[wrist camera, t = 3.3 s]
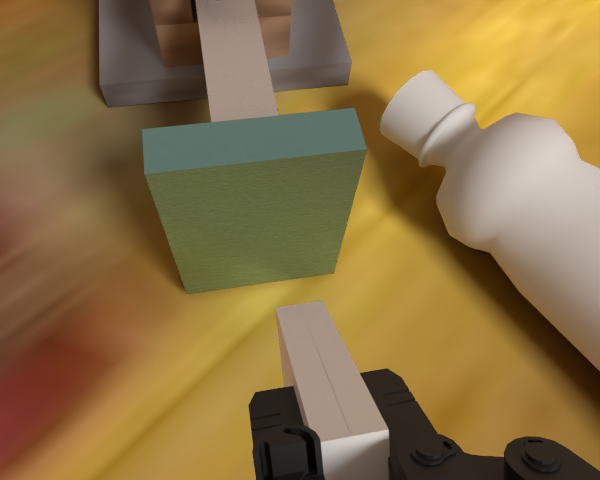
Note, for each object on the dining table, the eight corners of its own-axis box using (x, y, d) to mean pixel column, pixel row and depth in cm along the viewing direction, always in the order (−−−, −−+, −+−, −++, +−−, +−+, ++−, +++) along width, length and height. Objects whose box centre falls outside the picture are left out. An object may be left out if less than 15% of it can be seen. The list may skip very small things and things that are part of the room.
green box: (186, 294, 28) (144, 173, 18) (165, 52, 36) (128, -120, 27) (333, 273, 29) (367, 149, 19) (280, 42, 37) (285, -126, 28)
